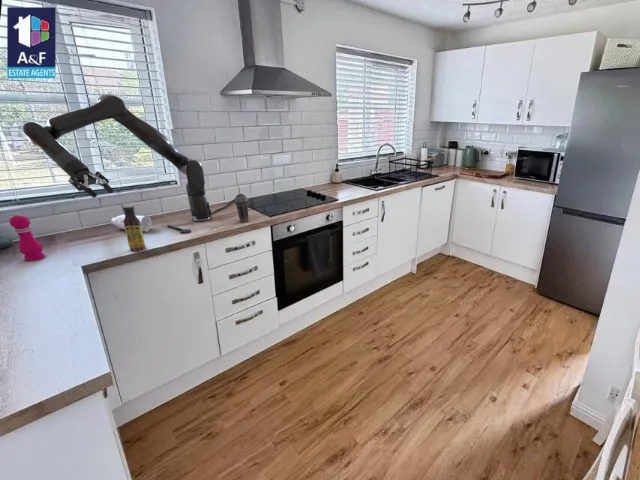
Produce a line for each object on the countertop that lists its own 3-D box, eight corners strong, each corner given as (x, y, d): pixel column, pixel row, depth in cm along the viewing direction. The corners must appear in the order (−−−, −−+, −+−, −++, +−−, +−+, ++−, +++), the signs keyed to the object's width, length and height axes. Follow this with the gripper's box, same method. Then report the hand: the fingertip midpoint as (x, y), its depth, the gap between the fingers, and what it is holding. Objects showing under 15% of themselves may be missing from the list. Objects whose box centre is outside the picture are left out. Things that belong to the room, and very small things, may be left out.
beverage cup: (253, 219, 216) (248, 185, 207) (247, 223, 209) (242, 187, 200) (241, 219, 216) (236, 184, 207) (235, 222, 210) (229, 187, 201)
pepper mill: (28, 263, 151) (7, 215, 142) (21, 259, 155) (0, 212, 146) (49, 257, 157) (30, 211, 148) (42, 254, 160) (23, 208, 151)
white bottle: (121, 226, 197) (117, 211, 194) (154, 228, 195) (150, 214, 192) (110, 230, 190) (105, 215, 187) (143, 233, 188) (139, 218, 185)
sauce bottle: (129, 252, 165) (116, 208, 156) (130, 247, 170) (118, 205, 161) (146, 250, 168) (134, 207, 159) (147, 246, 173) (135, 204, 164)
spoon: (172, 225, 201) (172, 223, 200) (192, 231, 193) (192, 229, 193) (163, 228, 197) (163, 225, 197) (184, 234, 189) (183, 231, 189)
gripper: (58, 161, 147) (93, 191, 151) (89, 156, 160) (120, 185, 164) (52, 173, 150) (86, 203, 154) (82, 168, 163) (113, 196, 167)
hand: (104, 194), depth 159 cm, fingers open, 8 cm apart
